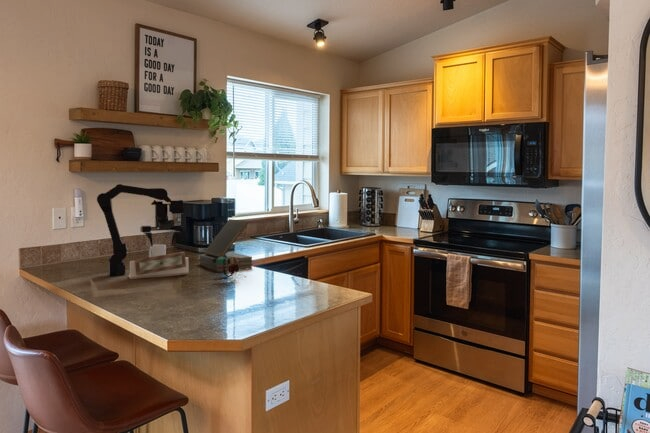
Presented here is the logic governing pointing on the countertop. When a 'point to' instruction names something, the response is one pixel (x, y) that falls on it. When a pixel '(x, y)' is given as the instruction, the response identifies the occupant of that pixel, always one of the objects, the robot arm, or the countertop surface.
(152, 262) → the picture frame
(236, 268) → the binoculars
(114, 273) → the robot arm
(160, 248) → the mug
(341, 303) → the countertop surface
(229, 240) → the open lidded box
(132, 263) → the long wooden tray
